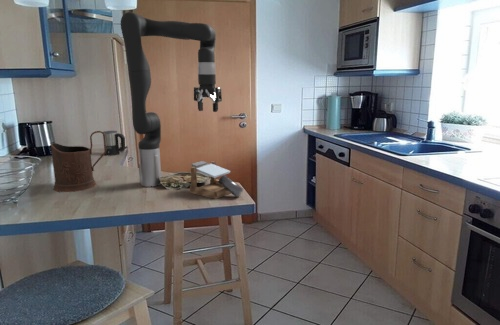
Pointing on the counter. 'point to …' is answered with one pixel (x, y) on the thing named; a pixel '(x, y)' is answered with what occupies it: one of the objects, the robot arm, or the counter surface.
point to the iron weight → (230, 186)
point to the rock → (181, 180)
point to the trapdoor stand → (207, 186)
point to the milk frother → (113, 142)
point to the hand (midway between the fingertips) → (207, 111)
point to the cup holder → (73, 167)
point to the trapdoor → (210, 169)
